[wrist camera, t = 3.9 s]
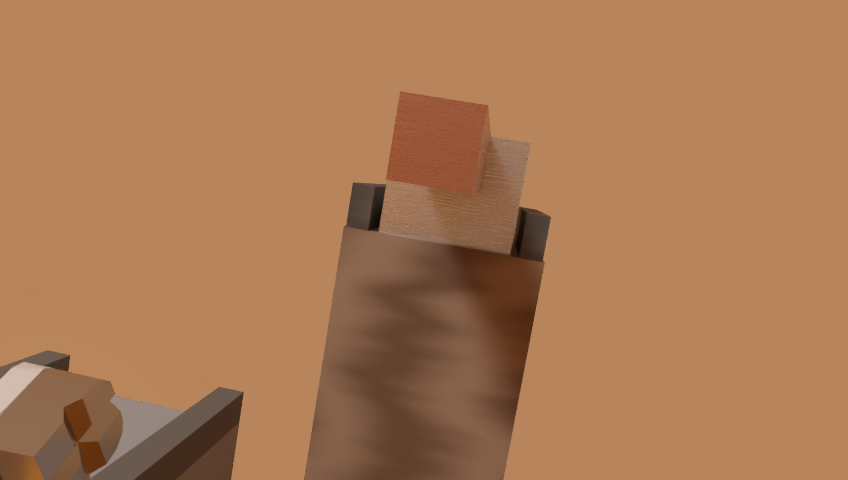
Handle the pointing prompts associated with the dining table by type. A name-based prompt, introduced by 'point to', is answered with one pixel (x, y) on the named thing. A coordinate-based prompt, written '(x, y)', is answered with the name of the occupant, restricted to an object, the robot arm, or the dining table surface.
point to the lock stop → (452, 176)
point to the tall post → (423, 352)
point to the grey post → (166, 434)
